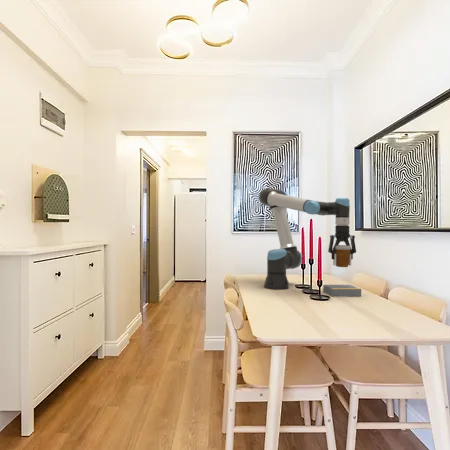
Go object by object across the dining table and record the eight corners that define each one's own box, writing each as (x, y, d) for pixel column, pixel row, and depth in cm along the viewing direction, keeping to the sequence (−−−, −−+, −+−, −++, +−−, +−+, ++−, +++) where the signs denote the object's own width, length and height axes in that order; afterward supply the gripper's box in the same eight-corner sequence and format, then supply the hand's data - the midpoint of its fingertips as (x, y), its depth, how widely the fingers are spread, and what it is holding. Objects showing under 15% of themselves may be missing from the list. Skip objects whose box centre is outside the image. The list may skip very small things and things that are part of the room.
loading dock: (332, 296, 179) (332, 288, 179) (323, 291, 193) (323, 284, 193) (361, 296, 180) (361, 288, 180) (349, 291, 194) (350, 284, 194)
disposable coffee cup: (329, 266, 189) (329, 245, 189) (342, 265, 193) (342, 244, 193) (341, 267, 180) (342, 246, 180) (354, 267, 184) (355, 245, 184)
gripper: (326, 225, 182) (326, 266, 182) (363, 225, 184) (363, 266, 183) (322, 225, 190) (321, 264, 190) (357, 225, 191) (356, 264, 191)
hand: (342, 265), depth 186 cm, fingers closed on disposable coffee cup, 8 cm apart
